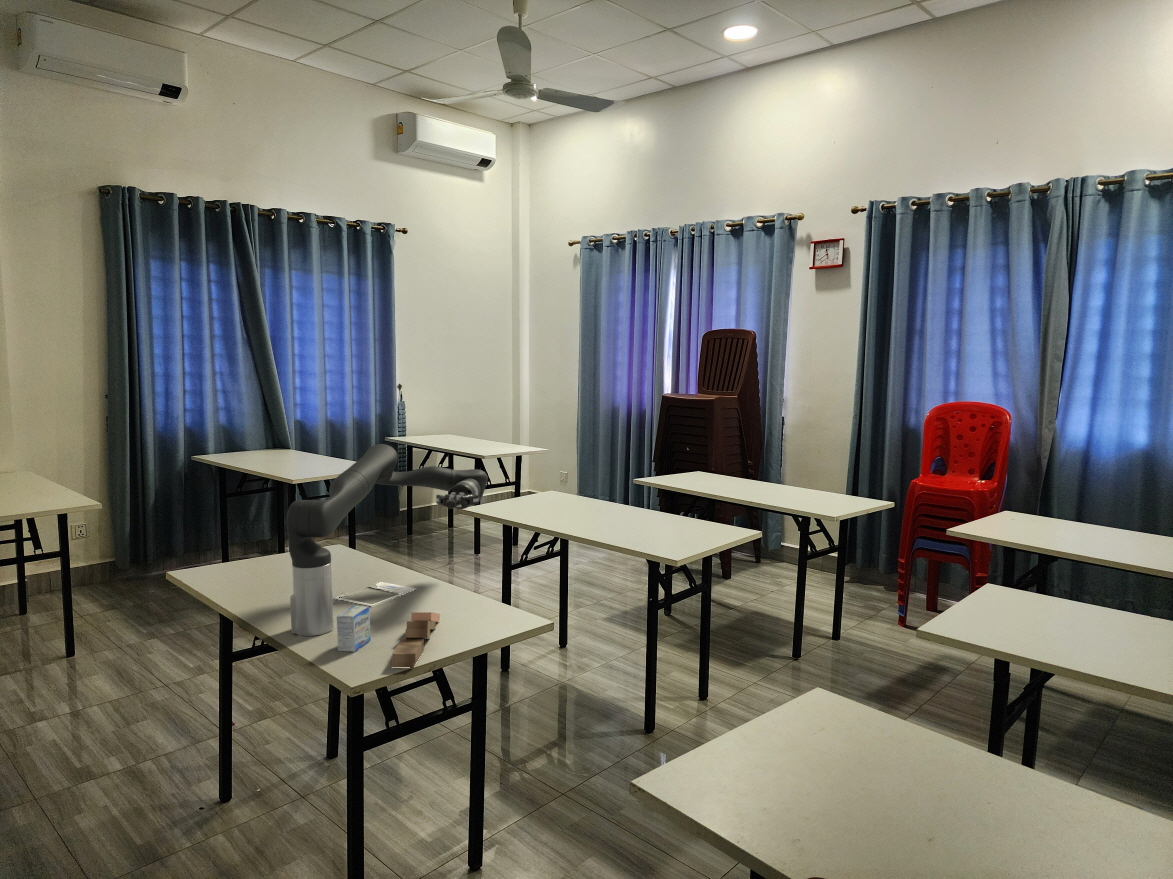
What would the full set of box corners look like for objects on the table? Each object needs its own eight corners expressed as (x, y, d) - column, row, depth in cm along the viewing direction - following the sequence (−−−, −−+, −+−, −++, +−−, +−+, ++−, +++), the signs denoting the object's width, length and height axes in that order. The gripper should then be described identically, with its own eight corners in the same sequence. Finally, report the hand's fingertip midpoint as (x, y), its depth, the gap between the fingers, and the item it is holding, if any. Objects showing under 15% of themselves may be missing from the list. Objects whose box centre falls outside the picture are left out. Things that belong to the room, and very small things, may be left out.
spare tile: (420, 621, 195) (411, 620, 186) (420, 613, 196) (411, 612, 186) (439, 621, 195) (431, 620, 185) (439, 613, 196) (431, 612, 186)
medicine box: (354, 652, 174) (353, 616, 173) (337, 651, 175) (336, 615, 174) (371, 640, 182) (370, 606, 181) (354, 639, 183) (353, 605, 182)
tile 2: (415, 629, 190) (406, 629, 180) (416, 621, 190) (407, 621, 180) (435, 629, 190) (427, 629, 180) (435, 621, 190) (427, 621, 180)
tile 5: (402, 654, 175) (391, 671, 165) (402, 645, 175) (390, 662, 165) (423, 654, 175) (413, 671, 165) (423, 645, 175) (413, 662, 165)
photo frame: (416, 587, 223) (372, 604, 207) (416, 591, 223) (372, 608, 207) (380, 581, 230) (334, 597, 214) (380, 584, 230) (334, 600, 214)
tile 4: (402, 646, 175) (392, 662, 165) (402, 637, 175) (392, 653, 165) (423, 645, 175) (415, 662, 165) (423, 637, 175) (415, 653, 165)
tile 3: (409, 638, 182) (405, 637, 173) (409, 630, 183) (405, 628, 174) (429, 638, 183) (427, 637, 174) (430, 630, 184) (427, 628, 174)
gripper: (441, 481, 225) (426, 491, 208) (485, 482, 224) (473, 492, 207) (442, 506, 226) (427, 518, 208) (485, 506, 225) (474, 518, 208)
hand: (450, 505), depth 208 cm, fingers closed
